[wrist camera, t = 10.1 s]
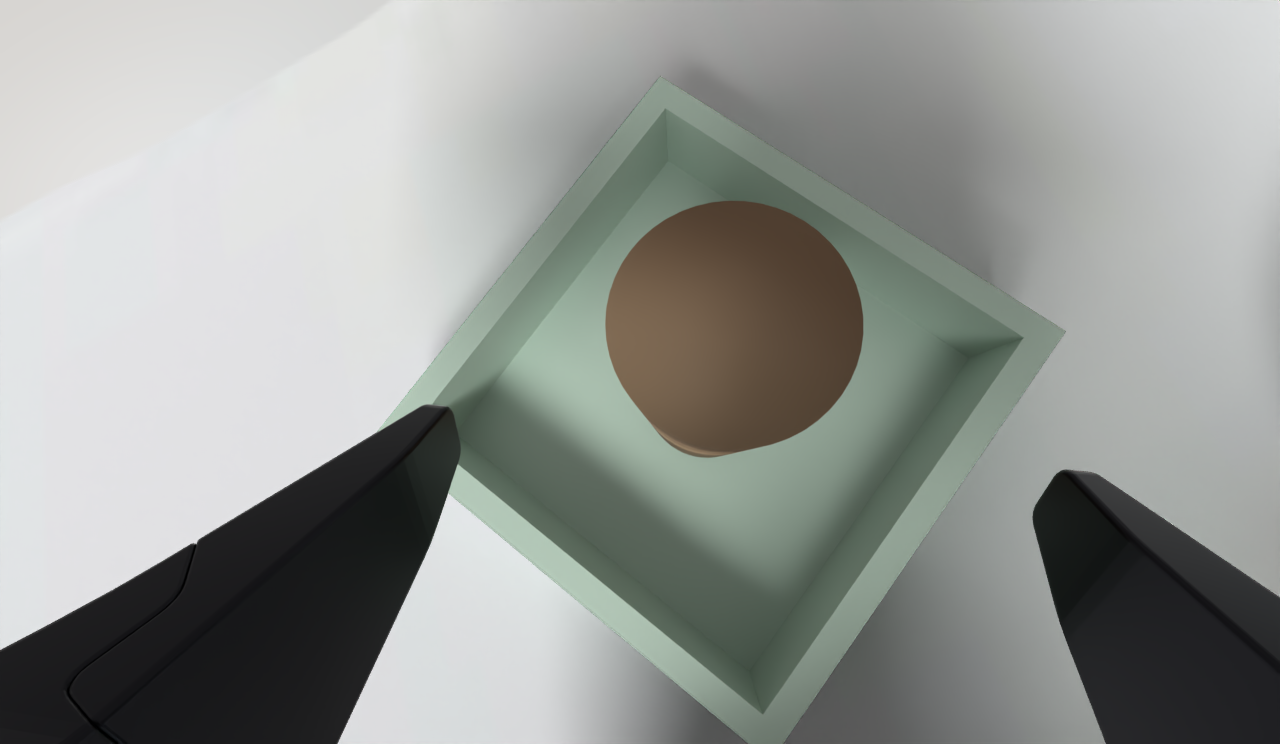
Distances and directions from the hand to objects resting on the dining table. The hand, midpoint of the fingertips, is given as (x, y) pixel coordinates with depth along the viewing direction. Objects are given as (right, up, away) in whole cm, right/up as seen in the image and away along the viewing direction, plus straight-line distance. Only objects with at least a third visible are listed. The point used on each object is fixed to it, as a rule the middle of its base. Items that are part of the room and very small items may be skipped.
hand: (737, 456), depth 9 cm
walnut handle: (+1, 0, +11) cm, 11 cm away
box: (+1, 0, +11) cm, 11 cm away
